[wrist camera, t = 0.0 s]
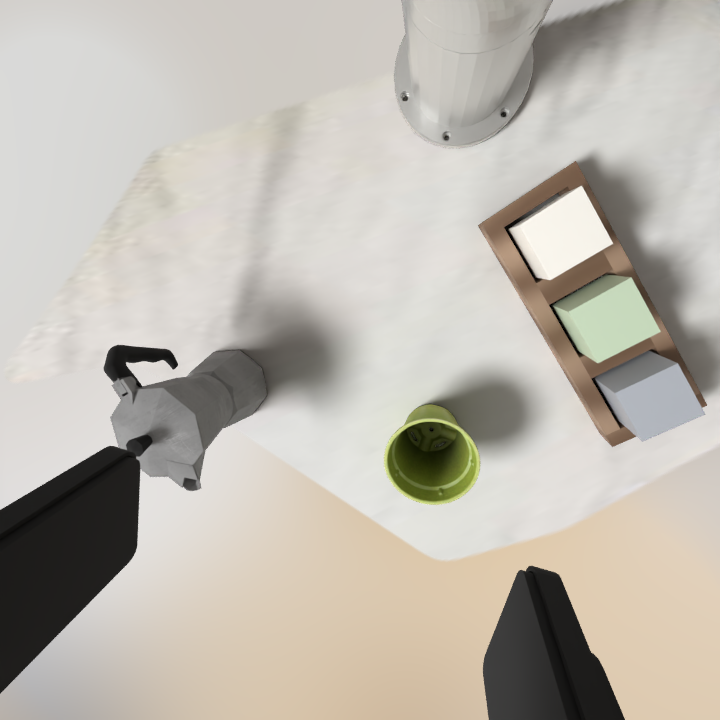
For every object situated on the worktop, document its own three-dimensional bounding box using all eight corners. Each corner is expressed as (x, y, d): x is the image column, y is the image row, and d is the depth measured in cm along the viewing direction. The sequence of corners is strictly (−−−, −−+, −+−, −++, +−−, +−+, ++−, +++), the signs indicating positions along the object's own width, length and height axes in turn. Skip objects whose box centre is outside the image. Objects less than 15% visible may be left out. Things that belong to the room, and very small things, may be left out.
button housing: (477, 225, 41) (481, 223, 38) (564, 168, 38) (575, 161, 35) (600, 434, 44) (612, 447, 41) (688, 394, 41) (707, 405, 38)
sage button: (551, 305, 39) (568, 311, 35) (606, 274, 38) (631, 277, 33) (577, 350, 40) (597, 363, 35) (632, 322, 39) (660, 331, 34)
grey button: (593, 377, 41) (614, 393, 36) (647, 350, 39) (677, 363, 34) (617, 420, 41) (642, 441, 36) (672, 395, 40) (705, 414, 35)
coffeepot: (290, 412, 50) (216, 494, 33) (232, 440, 52) (136, 530, 35) (226, 304, 48) (111, 332, 30) (169, 339, 50) (34, 382, 33)
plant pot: (377, 412, 48) (366, 445, 40) (445, 376, 45) (449, 402, 37) (416, 474, 49) (414, 518, 41) (486, 441, 46) (498, 481, 38)
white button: (507, 229, 38) (518, 225, 34) (562, 194, 37) (581, 185, 32) (535, 277, 39) (550, 280, 34) (589, 245, 38) (613, 243, 33)
